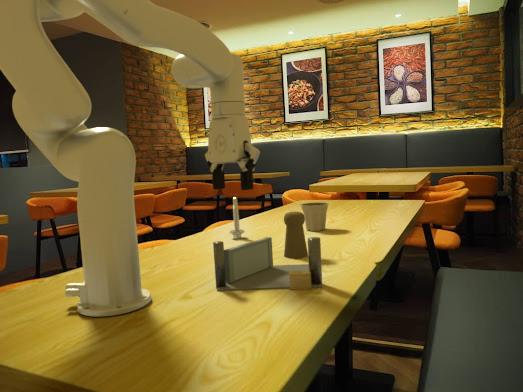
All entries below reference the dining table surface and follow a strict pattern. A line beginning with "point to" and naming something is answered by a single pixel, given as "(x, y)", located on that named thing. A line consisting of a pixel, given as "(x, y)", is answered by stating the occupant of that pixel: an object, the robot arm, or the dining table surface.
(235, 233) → the screw
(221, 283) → the hinge post
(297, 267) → the mat
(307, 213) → the flower pot
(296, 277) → the stile
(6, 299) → the dining table surface
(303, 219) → the cork
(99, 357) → the dining table surface
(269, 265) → the gate
